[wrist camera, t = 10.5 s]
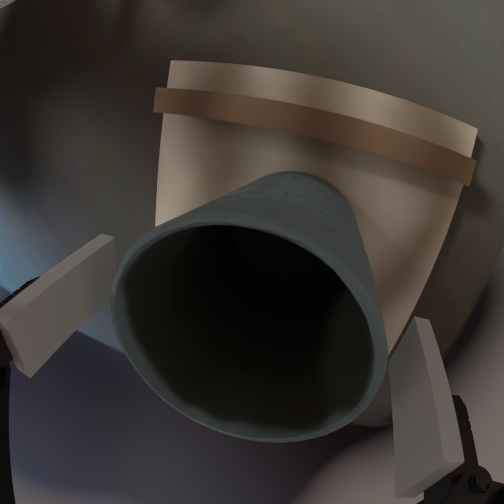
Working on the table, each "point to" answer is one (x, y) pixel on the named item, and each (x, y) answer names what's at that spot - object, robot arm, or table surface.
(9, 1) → the cricket player figurine
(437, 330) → the table surface
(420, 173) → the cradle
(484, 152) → the table surface
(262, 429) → the grey-green cup
